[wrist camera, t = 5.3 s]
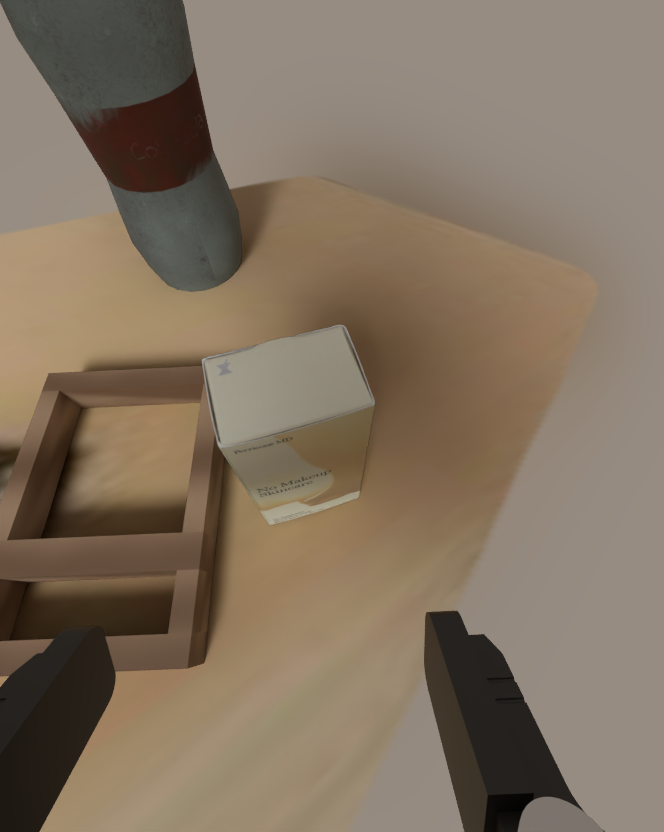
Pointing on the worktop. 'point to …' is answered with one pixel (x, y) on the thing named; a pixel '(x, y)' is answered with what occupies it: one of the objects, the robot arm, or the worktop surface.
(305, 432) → the skincare box
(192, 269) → the bottle
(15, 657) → the slot holder
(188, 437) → the worktop surface
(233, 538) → the worktop surface
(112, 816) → the worktop surface
